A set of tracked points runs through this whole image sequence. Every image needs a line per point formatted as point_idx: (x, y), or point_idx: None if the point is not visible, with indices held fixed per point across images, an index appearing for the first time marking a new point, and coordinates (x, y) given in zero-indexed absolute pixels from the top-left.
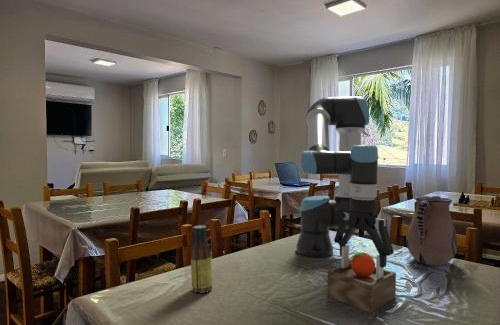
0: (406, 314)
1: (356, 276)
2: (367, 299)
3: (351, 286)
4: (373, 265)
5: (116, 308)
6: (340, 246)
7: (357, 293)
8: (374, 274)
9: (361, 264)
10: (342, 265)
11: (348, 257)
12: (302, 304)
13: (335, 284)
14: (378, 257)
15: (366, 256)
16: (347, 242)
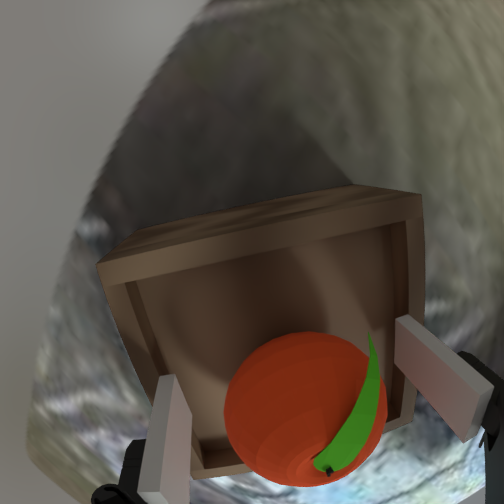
0: (81, 337)
1: None
2: (140, 237)
3: (237, 222)
4: (229, 439)
5: None
6: (502, 385)
7: (195, 225)
8: None
9: (270, 382)
10: (410, 322)
11: (421, 391)
12: (340, 41)
13: (340, 197)
14: (143, 484)
15: (282, 462)
16: (484, 449)
